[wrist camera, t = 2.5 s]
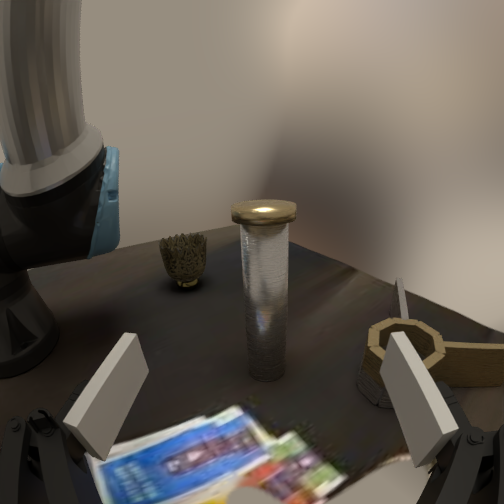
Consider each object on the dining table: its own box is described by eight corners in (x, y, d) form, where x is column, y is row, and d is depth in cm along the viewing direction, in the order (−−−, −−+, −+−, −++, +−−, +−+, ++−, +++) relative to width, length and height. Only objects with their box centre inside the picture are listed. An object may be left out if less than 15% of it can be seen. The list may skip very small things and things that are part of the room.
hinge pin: (252, 391, 23) (244, 214, 17) (235, 360, 27) (223, 203, 22) (299, 376, 24) (308, 207, 19) (278, 349, 28) (278, 198, 23)
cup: (216, 291, 42) (211, 241, 39) (169, 301, 39) (160, 250, 36) (204, 273, 48) (200, 229, 46) (163, 281, 46) (156, 236, 43)
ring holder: (434, 463, 12) (465, 428, 10) (311, 341, 29) (315, 303, 28) (502, 383, 16) (522, 346, 15) (392, 309, 34) (398, 276, 32)
